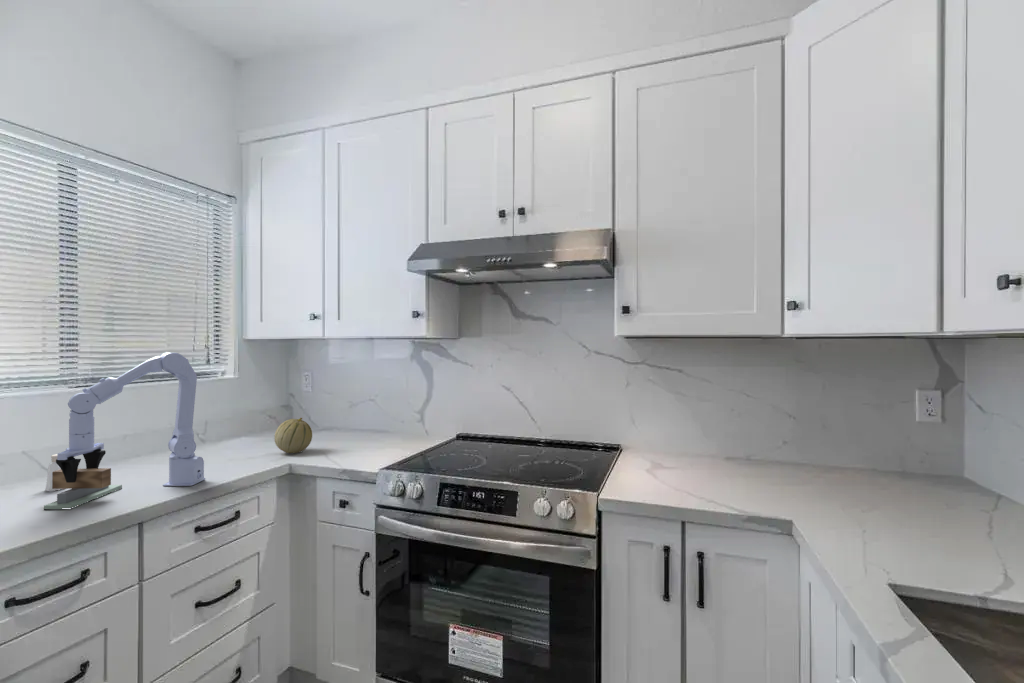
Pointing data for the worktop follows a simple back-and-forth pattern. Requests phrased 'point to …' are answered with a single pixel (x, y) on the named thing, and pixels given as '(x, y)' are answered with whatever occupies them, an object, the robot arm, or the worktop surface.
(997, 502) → the worktop surface
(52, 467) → the pepper shaker
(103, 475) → the walnut bar
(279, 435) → the cantaloupe
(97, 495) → the ridge stand
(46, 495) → the worktop surface
